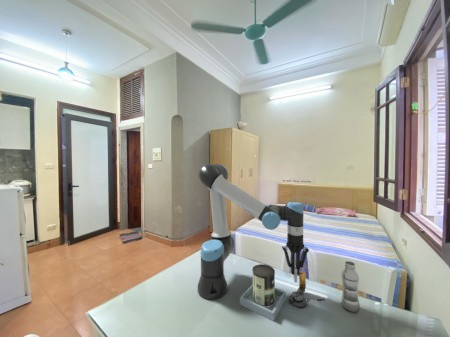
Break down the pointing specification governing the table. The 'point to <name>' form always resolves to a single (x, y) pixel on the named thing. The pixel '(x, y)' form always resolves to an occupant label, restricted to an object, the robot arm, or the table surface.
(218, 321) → the table surface
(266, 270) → the coffee can
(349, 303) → the plastic bottle
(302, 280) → the crank
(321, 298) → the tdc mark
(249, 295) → the tray
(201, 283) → the robot arm
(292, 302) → the crank base
